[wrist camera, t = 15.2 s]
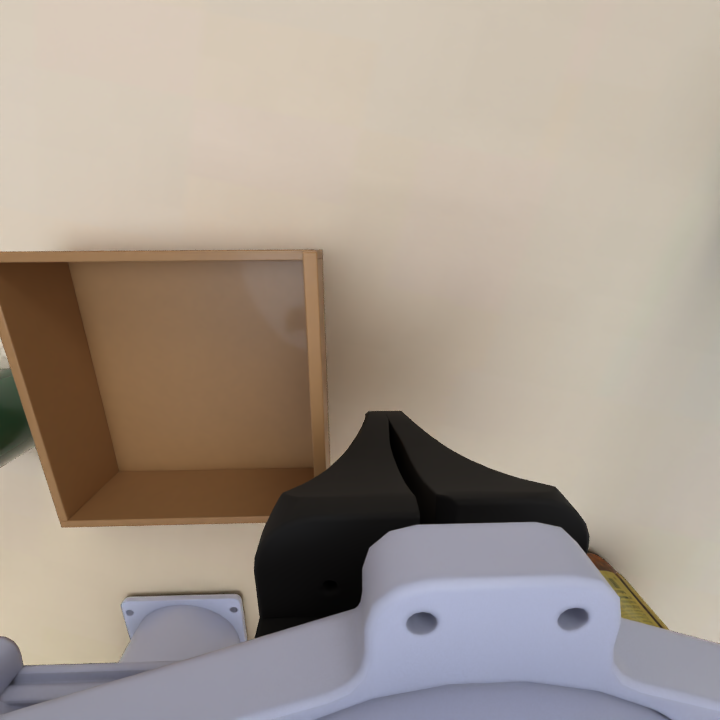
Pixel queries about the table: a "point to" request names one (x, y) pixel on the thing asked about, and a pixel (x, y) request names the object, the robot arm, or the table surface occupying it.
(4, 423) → the bottle
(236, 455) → the carton
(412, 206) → the table surface
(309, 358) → the flap
